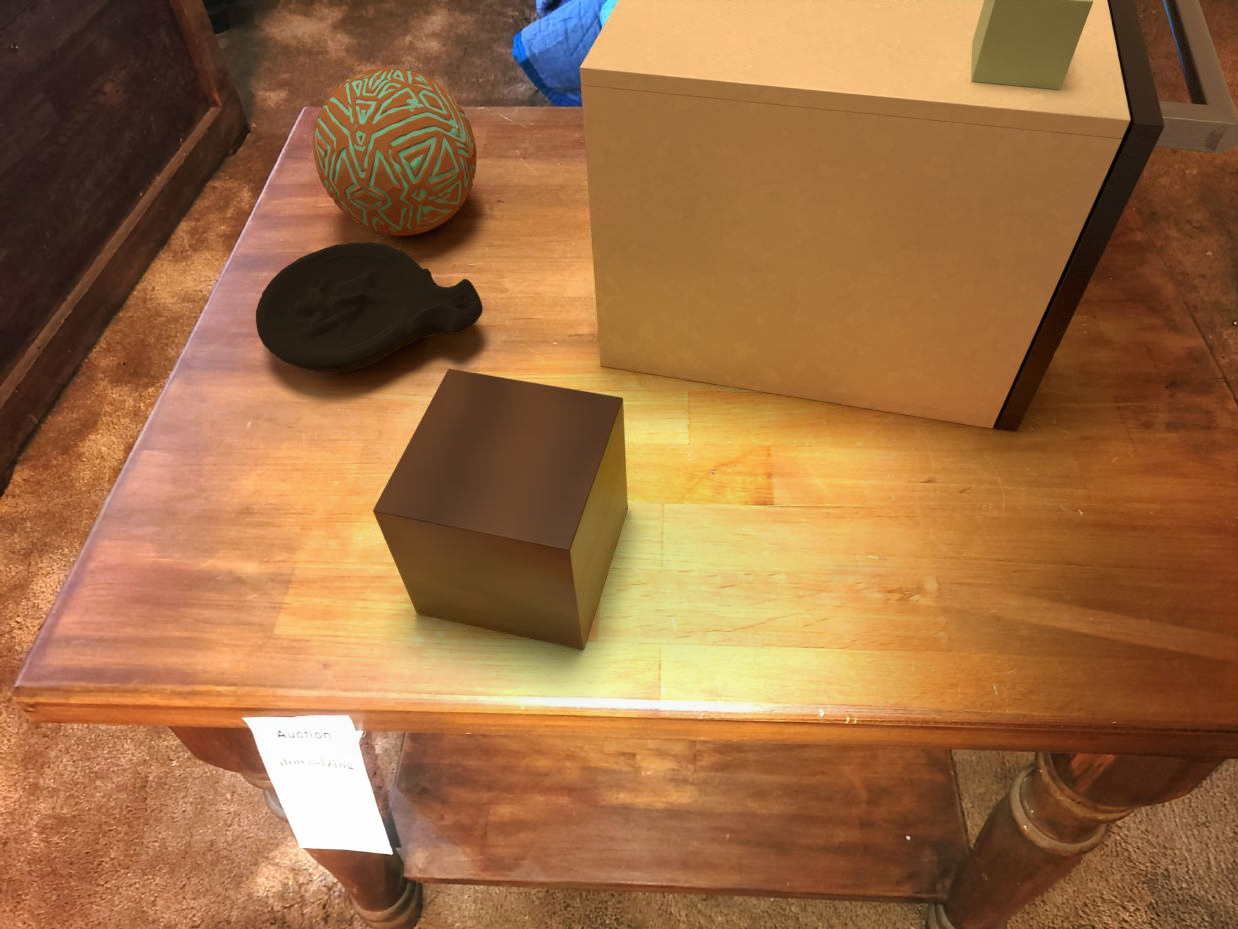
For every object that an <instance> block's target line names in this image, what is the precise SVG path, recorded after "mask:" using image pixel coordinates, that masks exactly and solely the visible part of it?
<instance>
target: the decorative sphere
mask: <svg viewBox="0 0 1238 929" xmlns="http://www.w3.org/2000/svg"><path fill="white" fill-rule="evenodd" d="M459 104H460V103H459V102H458V101H457V99H456V98H455V97H454V96H453V95H452V94H451V93H450V92H449V91H448V90H447V89H446V88H444V86H442V85H440V84H439V83H438V82H437V81H436V80H434V79H432V78H431V77H428V76H427V75H424V74H422V73H420V72H416V71H413V70H409V69H407V68H400V67H397V66H380V67H375V68H369V69H366V70H363V71H360V72H358V73H357V72H356V74H353V75H351V76H350V77H349V78H346V79H345V80H344V81H342V82H341V83H339V85H338V86H336V87H335V88H334V89H333V90H332V91H331V92H330V94H329V95H328V96H327V97H326V101H325V102H324V103H323V104H322V106H321V109H320V110H319V111H318V112H319V113H318V114H317V117H316V121H315V124H314V130H313V135H312V153H313V159H314V161H315V169H316V171H317V174H318V178H319V180H320V182H321V183H322V186H323V188H325V190H326V193H327V194H328V196H329V197H330V198H331V199H332V200H333V202H334V205H336V207H337V208H339V209H340V211H341V212H342V213H344V215H345V216H347V217H348V218H350V219H351V220H352V221H354V222H356V223H357V224H359V225H361V226H363V227H365V228H367V229H368V230H371V231H375V232H378V233H380V234H384V235H390V236H411V235H412V236H414V235H419V234H423V233H426V232H430V231H431V230H434V229H436V228H437V227H439V226H441V225H443V224H445V223H446V222H447V221H448V220H450V219H451V218H452V217H453V216H454V215H455V214H456V213H457V212H458V211H459V210H460V209H461V208H462V206H463V205H464V203H465V201H466V200H467V198H468V197H469V195H470V192H471V190H472V188H473V185H474V179H476V173H477V153H478V152H477V143H476V139H475V136H474V132H473V128H472V125H471V122H470V121H469V119H468V118H467V116H466V112H465V111H464V109H463V108H462V107H461V106H460V105H459Z"/></svg>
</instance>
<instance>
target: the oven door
mask: <svg viewBox="0 0 1238 929" xmlns="http://www.w3.org/2000/svg"><path fill="white" fill-rule="evenodd" d="M1107 1H1108V6H1109V11H1110V16H1111V21H1112V27H1113V32H1114V37H1115V42H1116V47H1117V52H1118V57H1119V63H1120V68H1121V73H1122V78H1123V83H1124V88H1125V94H1126V99H1127V104H1128V109H1129V114H1130V119H1131V121H1130V123H1129V125H1128V127H1127V129H1126V132H1125V134H1124V136H1123V138H1122V141H1121V143H1120V146H1119V148H1118V150H1117V152H1116V154H1115V157H1114V159H1113V161H1112V163H1111V166H1110V168H1109V170H1108V172H1107V174H1106V177H1105V179H1104V181H1103V183H1102V186H1101V188H1100V190H1099V192H1098V194H1097V197H1096V199H1095V201H1094V203H1093V206H1092V208H1091V210H1090V212H1089V214H1088V217H1087V219H1086V221H1085V223H1084V226H1083V228H1082V230H1081V232H1080V234H1079V237H1078V239H1077V241H1076V243H1075V246H1074V248H1073V250H1072V252H1071V255H1070V257H1069V259H1068V261H1067V263H1066V266H1065V268H1064V270H1063V272H1062V275H1061V277H1060V279H1059V281H1058V283H1057V286H1056V288H1055V290H1054V292H1053V295H1052V297H1051V299H1050V301H1049V303H1048V306H1047V308H1046V310H1045V312H1044V315H1043V317H1042V319H1041V321H1040V323H1039V326H1038V328H1037V330H1036V332H1035V335H1034V337H1033V339H1032V341H1031V343H1030V346H1029V348H1028V350H1027V352H1026V355H1025V357H1024V359H1023V361H1022V363H1021V366H1020V368H1019V370H1018V372H1017V375H1016V377H1015V379H1014V381H1013V384H1012V386H1011V388H1010V390H1009V392H1008V395H1007V397H1006V399H1005V401H1004V404H1003V406H1002V408H1001V410H1000V412H999V415H998V417H997V419H996V421H995V423H996V424H995V425H996V429H1000V430H1007V431H1014V432H1018V431H1019V429H1020V427H1021V425H1022V424H1023V421H1024V419H1025V417H1026V415H1027V412H1028V410H1029V408H1030V407H1031V404H1032V403H1033V400H1034V398H1035V396H1036V394H1037V392H1038V390H1039V388H1040V387H1041V386H1040V385H1041V383H1042V382H1043V379H1044V377H1045V375H1046V373H1047V371H1048V369H1049V367H1050V365H1051V364H1052V363H1051V362H1052V360H1053V358H1054V356H1055V354H1056V352H1057V351H1058V348H1059V347H1060V345H1061V342H1062V340H1063V337H1064V336H1065V333H1066V332H1067V329H1068V327H1069V325H1070V323H1071V321H1072V319H1073V317H1074V316H1075V313H1076V311H1077V309H1078V307H1079V305H1080V303H1081V300H1082V299H1083V296H1084V294H1085V292H1086V290H1087V288H1088V286H1089V284H1090V282H1091V280H1092V278H1093V275H1094V274H1095V271H1096V269H1097V268H1098V266H1099V264H1100V261H1101V259H1102V257H1103V255H1104V253H1105V251H1106V249H1107V247H1108V244H1109V243H1110V240H1111V238H1112V237H1113V234H1114V232H1115V231H1116V228H1117V226H1118V224H1119V222H1120V220H1121V218H1122V216H1123V213H1124V211H1125V209H1126V208H1127V205H1128V203H1129V201H1130V199H1131V197H1132V195H1133V192H1134V191H1135V189H1136V187H1137V185H1138V182H1139V180H1140V178H1141V176H1142V174H1143V172H1144V170H1145V168H1146V166H1147V164H1148V162H1149V159H1150V158H1151V155H1152V153H1153V151H1154V149H1155V148H1158V149H1159V148H1160V149H1167V150H1179V151H1180V150H1181V151H1188V152H1200V153H1210V154H1223V153H1226V152H1228V151H1230V150H1232V149H1234V148H1235V147H1237V145H1238V113H1237V110H1236V107H1235V104H1234V101H1233V98H1232V95H1231V92H1230V89H1229V86H1228V84H1227V80H1226V76H1225V74H1224V71H1223V69H1222V66H1221V62H1220V59H1219V57H1218V53H1217V51H1216V48H1215V45H1214V42H1213V38H1212V36H1211V33H1210V30H1209V27H1208V24H1207V21H1206V18H1205V15H1204V12H1203V9H1202V7H1201V3H1200V0H1162V3H1163V6H1164V10H1165V13H1166V17H1167V21H1168V25H1169V28H1170V31H1171V35H1172V39H1173V42H1174V45H1175V46H1174V47H1175V50H1176V53H1177V56H1178V60H1179V63H1180V67H1181V71H1182V75H1183V78H1184V81H1185V85H1186V88H1187V92H1188V96H1189V99H1190V102H1191V103H1189V102H1187V103H1186V102H1177V101H1166V100H1159V95H1158V92H1157V87H1156V83H1155V78H1154V75H1153V70H1152V66H1151V61H1150V57H1149V54H1148V49H1147V44H1146V41H1145V40H1146V39H1145V37H1144V32H1143V28H1142V23H1141V20H1140V16H1139V12H1138V7H1137V3H1136V0H1107Z"/></svg>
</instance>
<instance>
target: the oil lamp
mask: <svg viewBox="0 0 1238 929" xmlns="http://www.w3.org/2000/svg"><path fill="white" fill-rule="evenodd" d="M483 308H484V306H483V302H482V300H481V297H480V295H479V293H478V291H477V290H476V287H475V286H474V284H473V283H472V281H470V280H469V279H468V278H463V279H461V280H460V281H459V282H458V283H456V284H454V285H452V286H442V285H439V284H437V282H435V280H434V278H433V277H432V272H431V271H430V270H429V268H422V267H421V265H420V264H418V262H417V261H416V260H415V259H414V258H412V257H411V256H410V255H409V254H408V253H407V252H404V251H403V250H401V249H400V248H399V249H398V248H397V247H396V248H395V247H393V246H392V245H388V244H383V243H378V242H372V241H371V242H370V241H368V242H367V241H366V242H365V241H364V242H362V241H361V242H359V241H358V242H346V243H340V244H339V243H338V244H333V245H331V246H327V247H324V248H321V249H320V250H319V249H318V250H317V251H313V252H310V253H307V254H306V255H304V256H301V257H299V258H297V259H296V260H295V261H293V262H292V263H289V264H288V265H286V266H285V267H284V268H283V269H281V270H280V271H279V272H278V273H277V274H276V275H275V276H274V277H273V278H272V279H271V280H270V281H269V283H268V284H267V286H265V288H264V290H263V291H262V292H261V297H260V298H259V301H258V303H257V306H256V309H255V324H256V330H257V334H258V337H259V338H260V341H261V343H262V344H263V346H264V347H265V348H266V349H267V350H269V352H270V353H272V354H273V355H274V356H275V357H276V358H278V359H279V360H280V361H281V362H284V363H286V364H289V365H291V366H294V367H297V368H299V369H304V370H307V371H310V372H314V373H321V374H337V373H338V374H339V373H346V372H352V371H355V370H359V369H362V368H364V367H368V366H370V365H373V364H375V363H377V362H379V361H382V360H384V359H385V358H387V357H388V356H390V355H392V354H393V353H394V352H396V351H397V350H399V349H401V348H403V347H407V346H409V345H411V344H412V343H414V342H417V341H419V340H422V339H425V338H427V337H431V336H435V335H445V334H446V335H447V334H449V335H450V334H458V333H462V332H465V331H466V330H467V329H469V328H470V327H472V326H473V325H474V324H476V323H477V322H478V320H479V319H480V317H481V316H482V314H483V311H484V310H483Z"/></svg>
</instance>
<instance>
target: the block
mask: <svg viewBox="0 0 1238 929" xmlns="http://www.w3.org/2000/svg"><path fill="white" fill-rule="evenodd" d="M1092 4H1093V0H984V2H983V6H982V10H981V13H980V17H979V20H978V24H977V28H976V31H975V35H974V38H973V42H972V77H971V81H972V82H980V83H991V84H1001V85H1012V86H1023V87H1034V88H1044V89H1055V90H1060V89H1061V87H1062V85H1063V82H1064V79H1065V77H1066V74H1067V71H1068V69H1069V66H1070V63H1071V60H1072V58H1073V55H1074V52H1075V50H1076V47H1077V44H1078V42H1079V39H1080V36H1081V34H1082V31H1083V28H1084V26H1085V23H1086V20H1087V18H1088V15H1089V12H1090V9H1091V7H1092Z"/></svg>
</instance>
